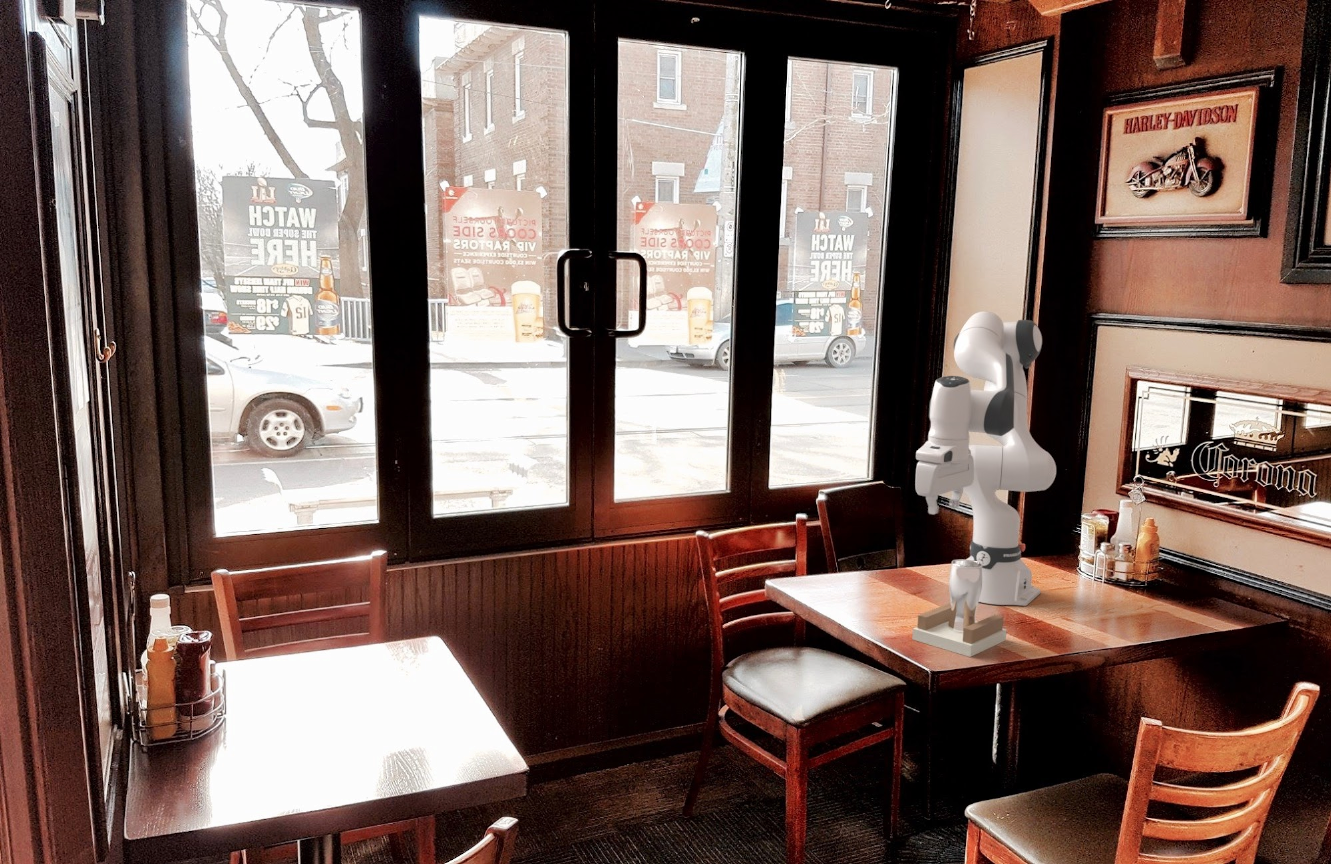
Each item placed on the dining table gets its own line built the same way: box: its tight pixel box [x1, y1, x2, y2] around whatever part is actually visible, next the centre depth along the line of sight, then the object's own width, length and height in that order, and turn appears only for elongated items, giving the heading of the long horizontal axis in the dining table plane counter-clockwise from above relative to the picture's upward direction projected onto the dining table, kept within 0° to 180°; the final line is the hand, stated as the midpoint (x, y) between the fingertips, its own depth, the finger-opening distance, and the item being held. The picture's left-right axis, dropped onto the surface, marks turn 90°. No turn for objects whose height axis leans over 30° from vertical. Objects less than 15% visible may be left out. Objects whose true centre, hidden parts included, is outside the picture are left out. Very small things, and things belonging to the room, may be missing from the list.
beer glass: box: [948, 558, 983, 633], centre depth 218 cm, size 7×7×15 cm
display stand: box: [911, 602, 1008, 658], centre depth 219 cm, size 16×14×6 cm
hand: (943, 510), depth 222 cm, fingers open, 8 cm apart
